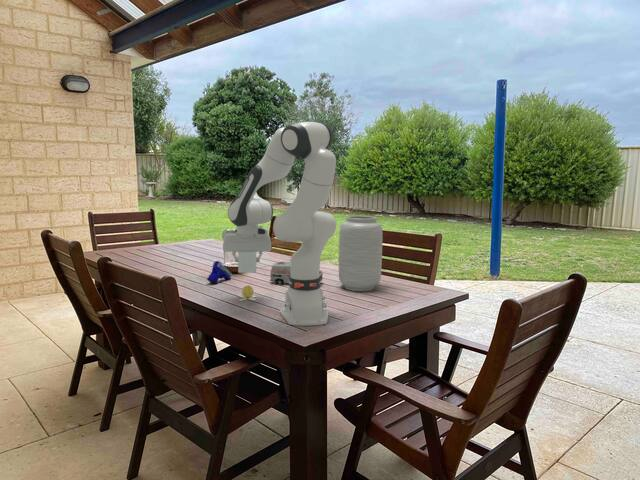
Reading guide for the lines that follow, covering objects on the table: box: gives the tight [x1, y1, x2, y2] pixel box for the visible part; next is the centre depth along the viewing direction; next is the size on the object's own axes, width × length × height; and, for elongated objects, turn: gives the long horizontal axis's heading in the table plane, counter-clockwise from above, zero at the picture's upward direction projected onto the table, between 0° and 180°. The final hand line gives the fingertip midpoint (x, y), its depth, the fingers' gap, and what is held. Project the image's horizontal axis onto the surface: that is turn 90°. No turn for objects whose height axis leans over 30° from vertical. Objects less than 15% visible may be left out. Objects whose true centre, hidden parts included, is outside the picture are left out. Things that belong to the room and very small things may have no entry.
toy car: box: [269, 261, 324, 286], centre depth 226 cm, size 11×25×10 cm, turn 79°
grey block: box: [237, 251, 257, 274], centre depth 196 cm, size 7×7×9 cm
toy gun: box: [206, 260, 233, 285], centre depth 227 cm, size 4×13×10 cm
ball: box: [241, 285, 254, 297], centre depth 200 cm, size 5×5×5 cm
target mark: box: [239, 295, 258, 302], centre depth 198 cm, size 9×9×1 cm
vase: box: [338, 215, 383, 292], centre depth 217 cm, size 20×20×34 cm
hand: (247, 261), depth 196 cm, fingers closed on grey block, 7 cm apart
